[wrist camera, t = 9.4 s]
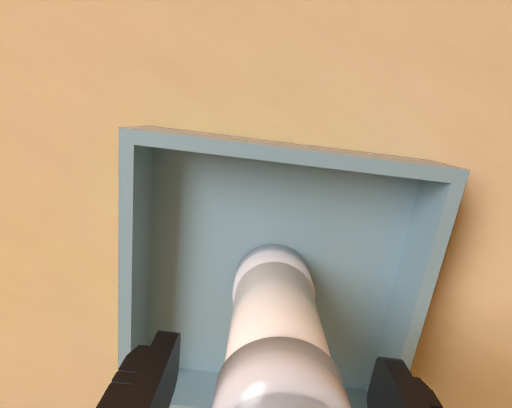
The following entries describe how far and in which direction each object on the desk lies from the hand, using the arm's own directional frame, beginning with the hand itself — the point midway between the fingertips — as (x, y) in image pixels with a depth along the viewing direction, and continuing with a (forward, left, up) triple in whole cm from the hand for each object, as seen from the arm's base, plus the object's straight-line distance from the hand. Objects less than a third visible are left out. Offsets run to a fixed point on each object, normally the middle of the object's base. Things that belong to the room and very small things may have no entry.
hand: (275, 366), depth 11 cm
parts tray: (0, 0, -7) cm, 7 cm away
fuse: (0, 0, -6) cm, 6 cm away
